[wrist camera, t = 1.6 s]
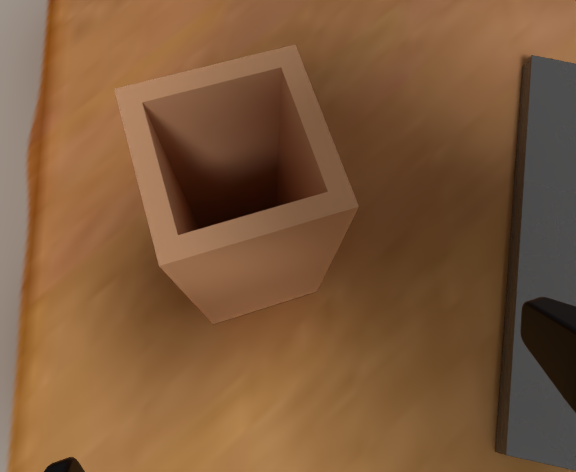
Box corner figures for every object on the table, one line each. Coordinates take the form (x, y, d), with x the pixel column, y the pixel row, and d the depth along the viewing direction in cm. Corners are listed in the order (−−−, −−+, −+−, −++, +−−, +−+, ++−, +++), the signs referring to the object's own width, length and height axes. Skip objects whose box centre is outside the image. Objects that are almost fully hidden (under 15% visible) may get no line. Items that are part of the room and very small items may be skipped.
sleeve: (317, 291, 22) (359, 206, 12) (213, 324, 22) (158, 266, 11) (284, 196, 24) (295, 44, 13) (185, 225, 23) (114, 89, 12)
